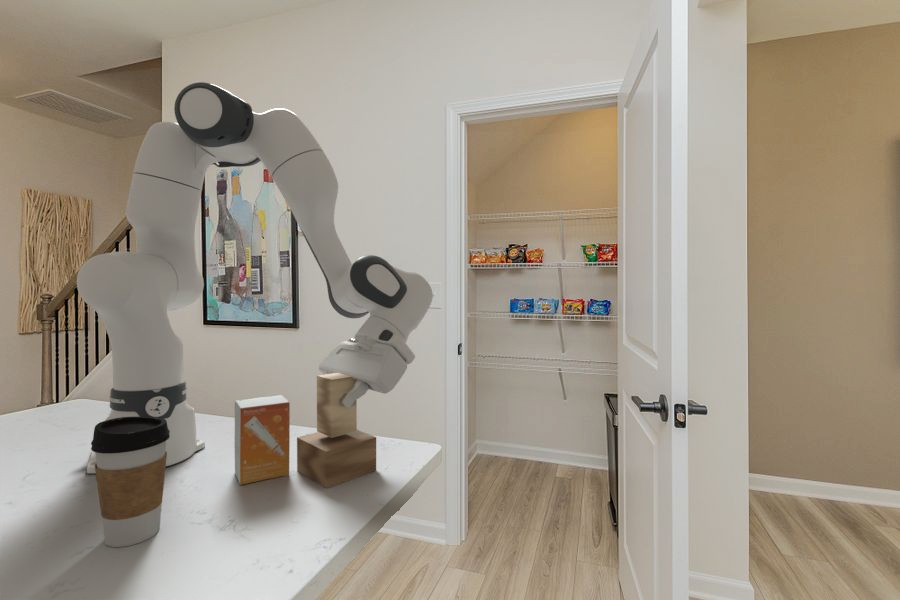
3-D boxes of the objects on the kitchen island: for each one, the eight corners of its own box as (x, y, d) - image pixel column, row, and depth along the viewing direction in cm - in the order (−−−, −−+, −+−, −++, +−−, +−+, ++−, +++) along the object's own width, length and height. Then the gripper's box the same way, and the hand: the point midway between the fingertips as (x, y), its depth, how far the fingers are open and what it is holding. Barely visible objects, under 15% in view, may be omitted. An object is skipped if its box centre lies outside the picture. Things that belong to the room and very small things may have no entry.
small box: (239, 486, 73) (239, 407, 72) (234, 473, 78) (233, 399, 78) (290, 475, 77) (290, 401, 77) (282, 463, 82) (281, 394, 82)
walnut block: (297, 470, 79) (297, 437, 79) (345, 455, 86) (345, 425, 86) (326, 488, 72) (326, 451, 72) (376, 470, 79) (376, 437, 79)
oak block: (317, 431, 79) (316, 375, 79) (341, 425, 83) (341, 371, 82) (331, 437, 76) (331, 379, 75) (356, 431, 79) (356, 375, 79)
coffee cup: (120, 519, 62) (118, 413, 62) (183, 517, 63) (182, 412, 62) (74, 555, 54) (72, 432, 53) (147, 551, 54) (146, 431, 54)
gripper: (338, 328, 91) (293, 382, 84) (402, 335, 77) (355, 401, 70) (357, 347, 94) (315, 401, 87) (421, 358, 80) (377, 423, 73)
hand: (333, 401), depth 78 cm, fingers closed on oak block, 5 cm apart
